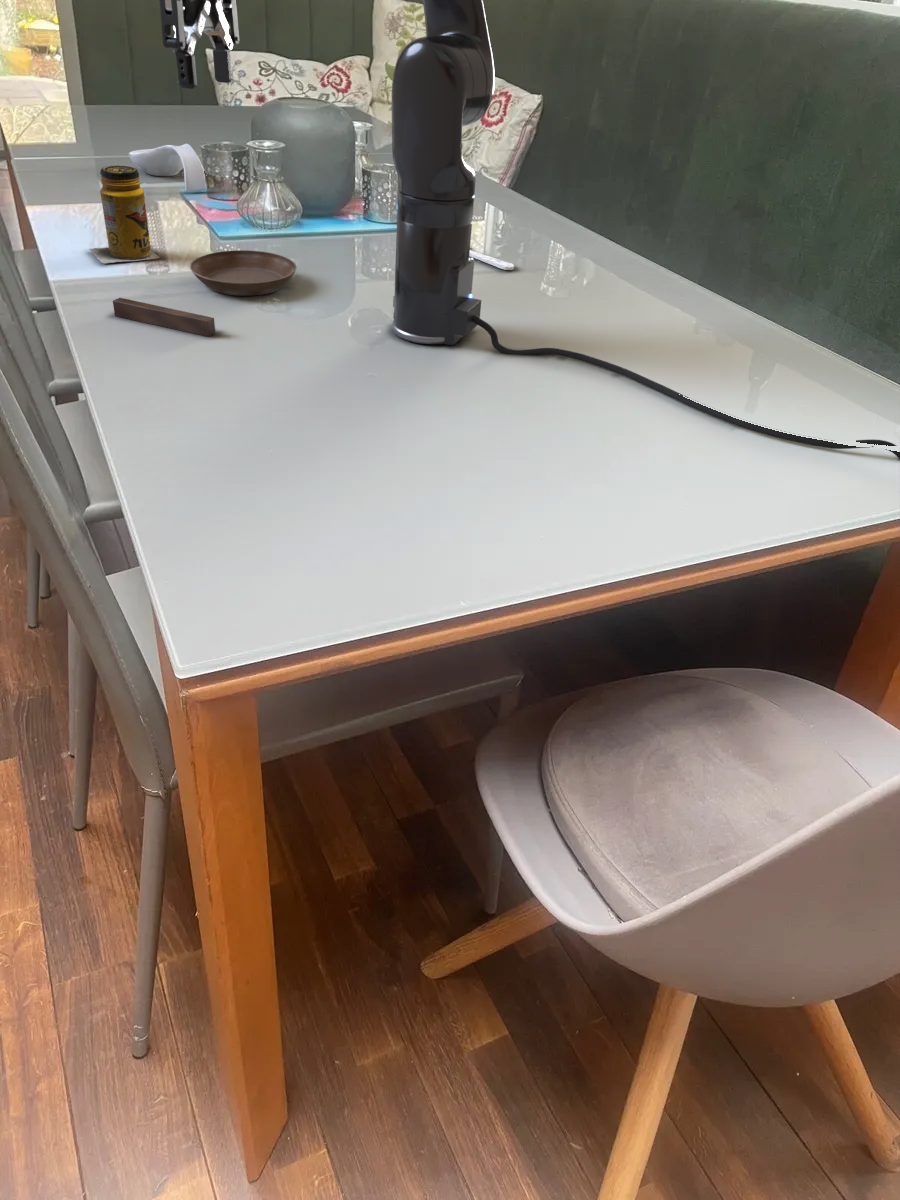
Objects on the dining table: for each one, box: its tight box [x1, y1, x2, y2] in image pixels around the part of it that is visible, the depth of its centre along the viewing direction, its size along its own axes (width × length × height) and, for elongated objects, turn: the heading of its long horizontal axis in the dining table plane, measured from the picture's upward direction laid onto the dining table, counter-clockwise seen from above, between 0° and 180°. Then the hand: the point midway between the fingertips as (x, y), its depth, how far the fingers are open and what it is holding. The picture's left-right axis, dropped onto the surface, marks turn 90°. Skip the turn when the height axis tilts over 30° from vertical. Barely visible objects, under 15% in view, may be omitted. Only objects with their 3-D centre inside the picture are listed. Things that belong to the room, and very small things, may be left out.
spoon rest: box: [128, 143, 208, 193], centre depth 174 cm, size 24×12×7 cm, turn 37°
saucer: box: [189, 249, 298, 297], centre depth 127 cm, size 15×15×3 cm
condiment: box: [88, 164, 161, 264], centre depth 131 cm, size 7×8×12 cm
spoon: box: [469, 249, 515, 271], centre depth 147 cm, size 5×18×1 cm, turn 44°
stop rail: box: [112, 297, 216, 337], centre depth 113 cm, size 14×2×2 cm, turn 69°
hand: (206, 85), depth 119 cm, fingers open, 8 cm apart
